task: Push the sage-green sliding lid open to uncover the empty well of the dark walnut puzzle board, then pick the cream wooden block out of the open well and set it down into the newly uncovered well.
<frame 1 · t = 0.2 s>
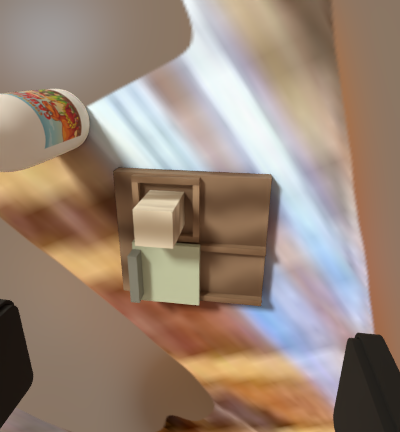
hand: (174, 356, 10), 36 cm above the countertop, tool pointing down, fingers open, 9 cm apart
board: (192, 233, 49), on the countertop
block: (167, 207, 46), point 2 cm above the countertop, touching board
lid: (165, 276, 47), point 4 cm above the countertop, slide at 0.0 cm
milk bottle: (64, 119, 46), on the countertop
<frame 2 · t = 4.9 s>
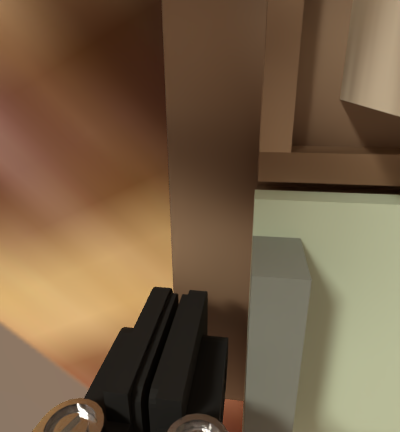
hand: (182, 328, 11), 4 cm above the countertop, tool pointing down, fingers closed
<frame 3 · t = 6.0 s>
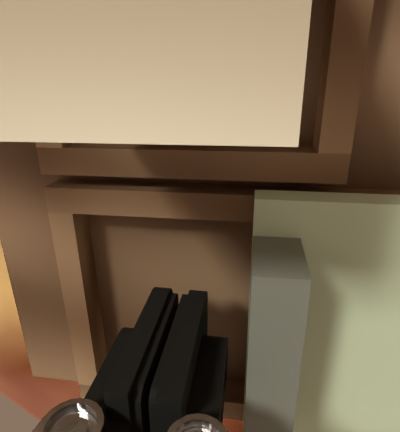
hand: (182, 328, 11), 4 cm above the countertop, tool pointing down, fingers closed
board: (286, 164, 12), on the countertop
block: (187, 7, 9), point 2 cm above the countertop, touching board
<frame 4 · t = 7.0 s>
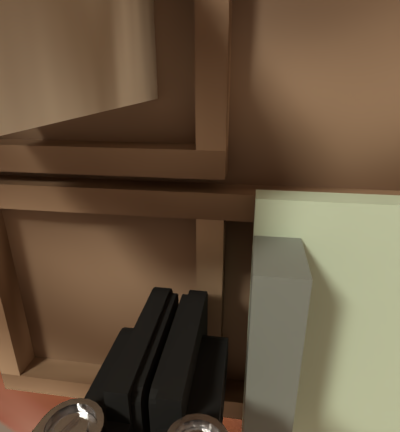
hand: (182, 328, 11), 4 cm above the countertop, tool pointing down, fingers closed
board: (195, 161, 13), on the countertop
block: (73, 10, 10), point 2 cm above the countertop, touching board
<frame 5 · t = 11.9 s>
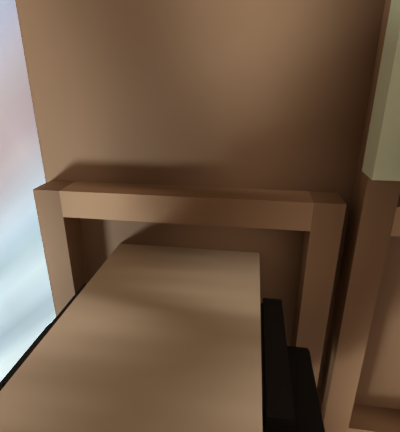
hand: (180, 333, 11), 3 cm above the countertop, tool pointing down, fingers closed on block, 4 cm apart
board: (326, 210, 12), on the countertop
block: (188, 306, 12), point 2 cm above the countertop, touching board, gripper
when the fingers open (5 cm above the countertop, at t = 16.5 s): block drops 1 cm, resting on board.
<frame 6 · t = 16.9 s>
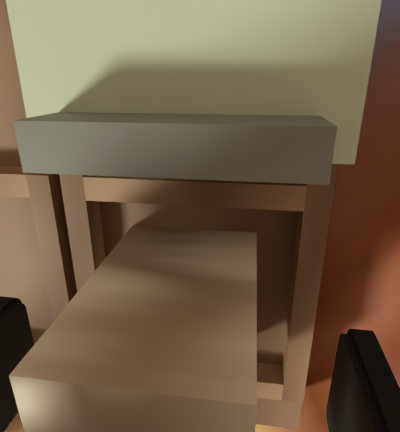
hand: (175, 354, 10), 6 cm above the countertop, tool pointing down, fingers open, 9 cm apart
board: (96, 187, 15), on the countertop
block: (193, 283, 13), point 2 cm above the countertop, touching board
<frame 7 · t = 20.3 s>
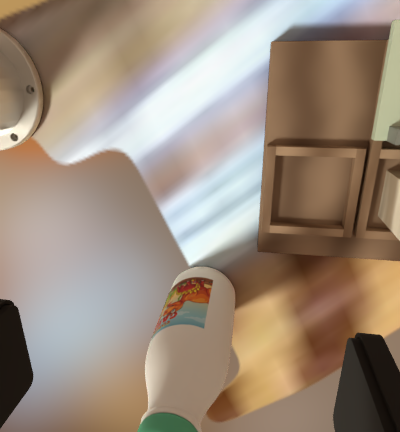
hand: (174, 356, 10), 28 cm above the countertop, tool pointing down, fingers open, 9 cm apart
board: (357, 156, 34), on the countertop
milk bottle: (204, 291, 43), on the countertop
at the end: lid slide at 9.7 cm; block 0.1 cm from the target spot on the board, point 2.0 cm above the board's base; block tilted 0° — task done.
